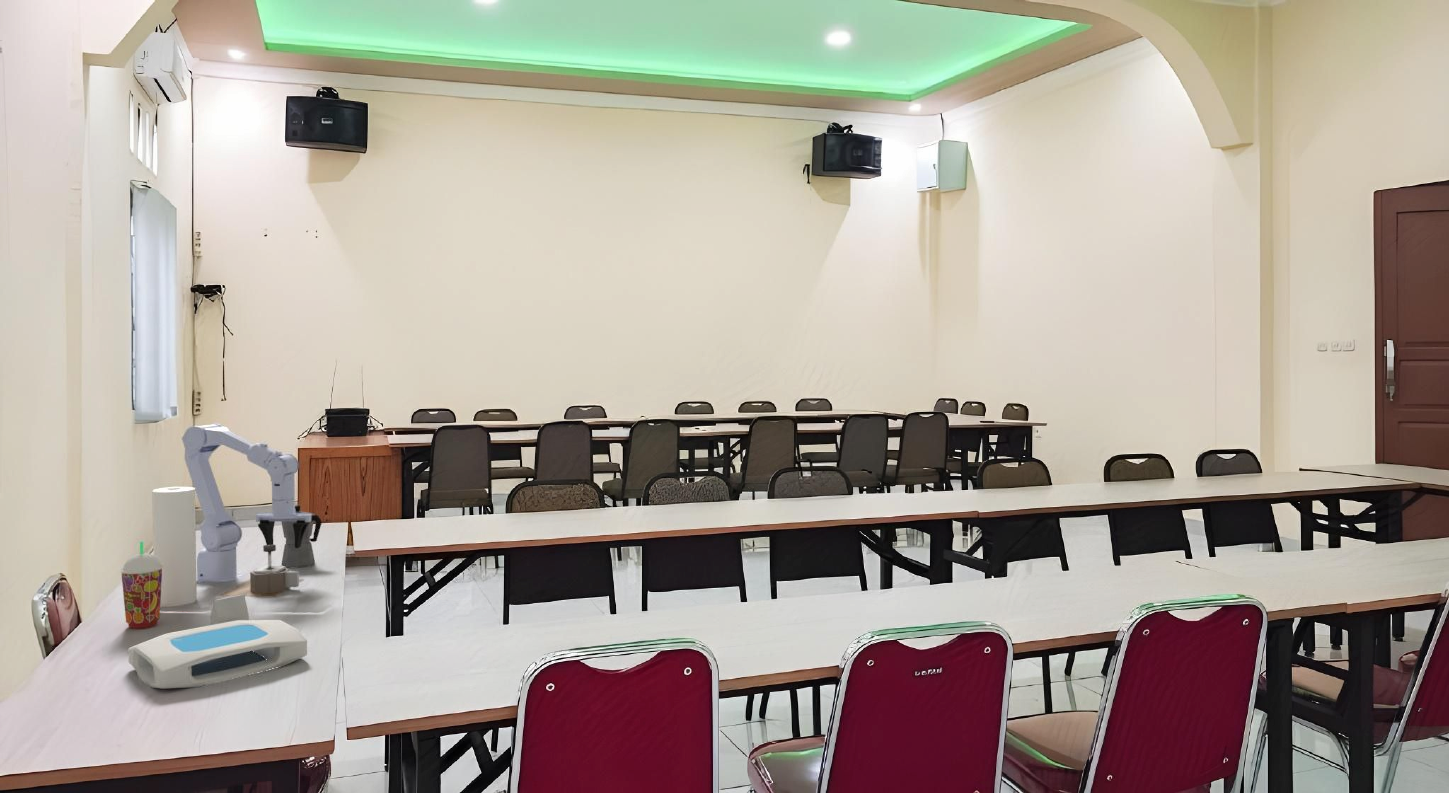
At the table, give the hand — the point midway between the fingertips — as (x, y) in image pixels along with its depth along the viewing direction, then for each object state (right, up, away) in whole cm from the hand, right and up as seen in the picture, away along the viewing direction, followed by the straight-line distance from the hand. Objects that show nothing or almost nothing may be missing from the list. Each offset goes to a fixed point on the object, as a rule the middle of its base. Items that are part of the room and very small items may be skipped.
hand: (284, 547), depth 265 cm
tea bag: (+11, -13, -51) cm, 54 cm away
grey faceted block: (+1, -10, -8) cm, 13 cm away
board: (-3, -11, -6) cm, 12 cm away
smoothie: (-15, -12, -40) cm, 44 cm away
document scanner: (+17, -15, -67) cm, 70 cm away
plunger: (0, -6, -8) cm, 10 cm away
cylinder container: (-18, -11, -21) cm, 30 cm away
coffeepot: (-6, -9, +23) cm, 26 cm away
